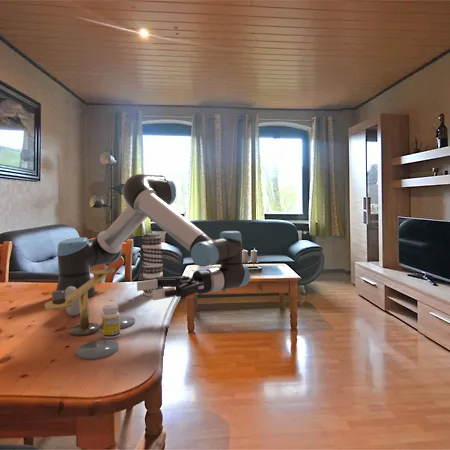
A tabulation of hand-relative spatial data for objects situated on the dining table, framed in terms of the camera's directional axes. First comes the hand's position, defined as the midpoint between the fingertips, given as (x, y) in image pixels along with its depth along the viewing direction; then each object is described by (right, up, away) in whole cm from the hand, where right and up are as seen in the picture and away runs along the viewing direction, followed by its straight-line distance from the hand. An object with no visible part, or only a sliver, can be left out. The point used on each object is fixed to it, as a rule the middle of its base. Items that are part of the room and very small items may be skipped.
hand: (144, 290), depth 105 cm
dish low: (-9, -13, -15) cm, 21 cm away
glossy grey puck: (-9, -11, +6) cm, 16 cm away
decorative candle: (-6, -9, +42) cm, 44 cm away
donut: (-28, -11, +15) cm, 33 cm away
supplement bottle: (-8, -12, -4) cm, 15 cm away
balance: (-18, -12, 0) cm, 21 cm away
